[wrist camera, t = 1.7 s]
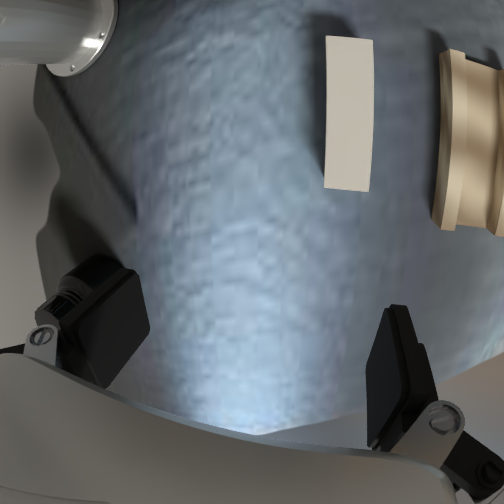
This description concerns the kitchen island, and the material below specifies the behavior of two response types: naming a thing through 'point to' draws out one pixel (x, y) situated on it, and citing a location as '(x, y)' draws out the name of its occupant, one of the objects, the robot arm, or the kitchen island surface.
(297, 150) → the kitchen island surface
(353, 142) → the strip
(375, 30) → the kitchen island surface
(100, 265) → the ink bottle
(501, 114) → the rack
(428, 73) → the kitchen island surface
